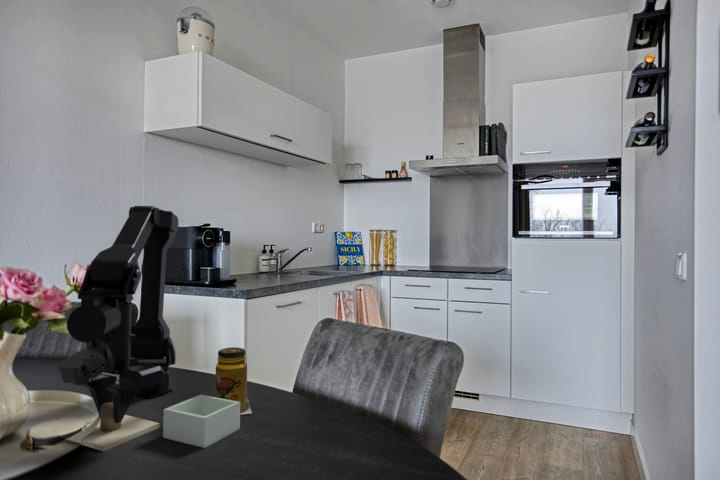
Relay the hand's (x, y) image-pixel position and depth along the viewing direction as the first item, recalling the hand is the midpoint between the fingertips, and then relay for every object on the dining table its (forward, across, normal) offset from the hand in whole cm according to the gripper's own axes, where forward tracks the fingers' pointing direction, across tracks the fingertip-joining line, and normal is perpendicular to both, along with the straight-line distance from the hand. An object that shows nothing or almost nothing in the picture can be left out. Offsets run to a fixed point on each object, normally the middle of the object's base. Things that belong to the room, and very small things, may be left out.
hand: (110, 420), depth 85 cm
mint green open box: (+2, +14, +7) cm, 16 cm away
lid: (+2, 0, 0) cm, 2 cm away
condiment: (+2, +11, +19) cm, 22 cm away
